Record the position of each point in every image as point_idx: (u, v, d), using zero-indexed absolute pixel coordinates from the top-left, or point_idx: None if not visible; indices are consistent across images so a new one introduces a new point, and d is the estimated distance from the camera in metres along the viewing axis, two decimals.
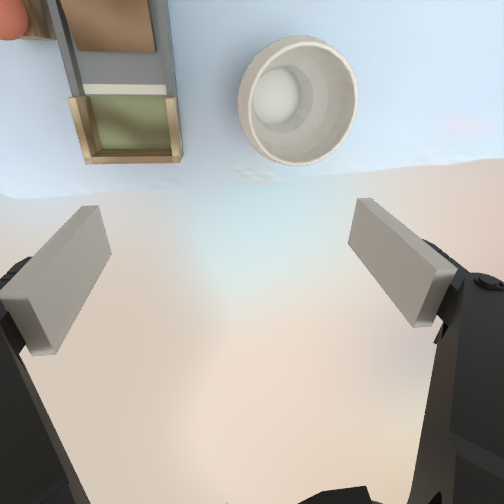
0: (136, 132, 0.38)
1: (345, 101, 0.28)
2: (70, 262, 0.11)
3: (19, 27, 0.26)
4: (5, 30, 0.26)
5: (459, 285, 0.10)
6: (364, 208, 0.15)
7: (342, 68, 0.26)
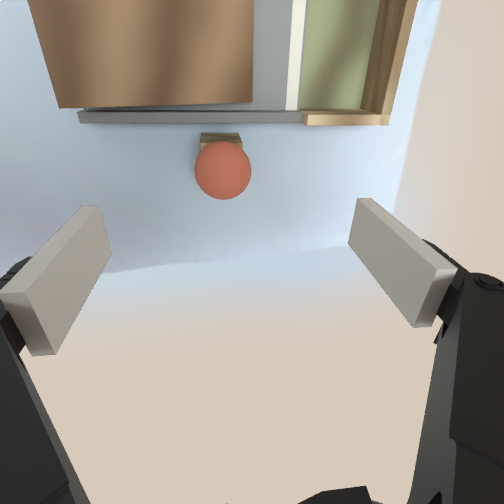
0: (348, 47, 0.25)
1: None
2: (70, 262, 0.11)
3: (239, 150, 0.22)
4: (244, 164, 0.22)
5: (459, 285, 0.10)
6: (364, 208, 0.15)
7: None
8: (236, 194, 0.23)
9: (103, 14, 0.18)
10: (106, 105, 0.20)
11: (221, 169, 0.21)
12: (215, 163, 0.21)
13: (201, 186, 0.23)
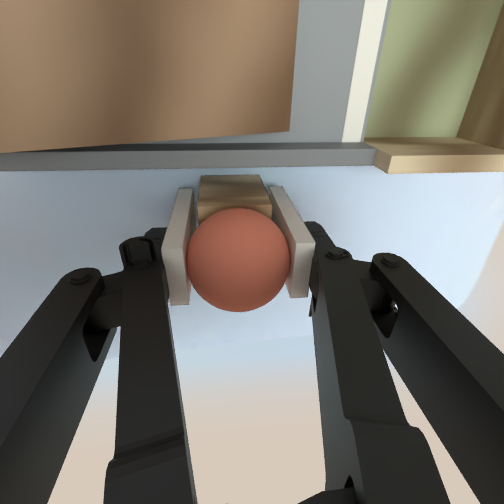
0: (453, 36, 0.15)
1: None
2: (189, 232, 0.14)
3: (271, 229, 0.12)
4: (281, 258, 0.11)
5: (316, 261, 0.11)
6: (272, 195, 0.16)
7: None
8: (263, 304, 0.13)
9: None
10: (1, 149, 0.10)
11: (237, 274, 0.11)
12: (226, 262, 0.11)
13: (198, 293, 0.12)
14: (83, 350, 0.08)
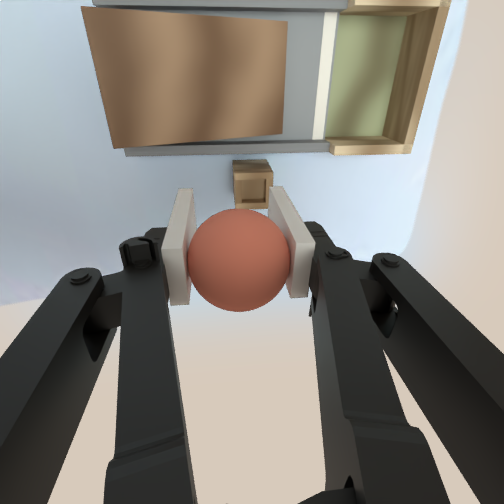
0: (372, 81, 0.27)
1: None
2: (189, 232, 0.14)
3: (272, 229, 0.12)
4: (282, 257, 0.12)
5: (316, 261, 0.11)
6: (271, 195, 0.16)
7: None
8: None
9: (156, 66, 0.20)
10: (154, 143, 0.22)
11: (240, 274, 0.11)
12: (228, 262, 0.11)
13: (200, 293, 0.12)
14: (83, 350, 0.08)
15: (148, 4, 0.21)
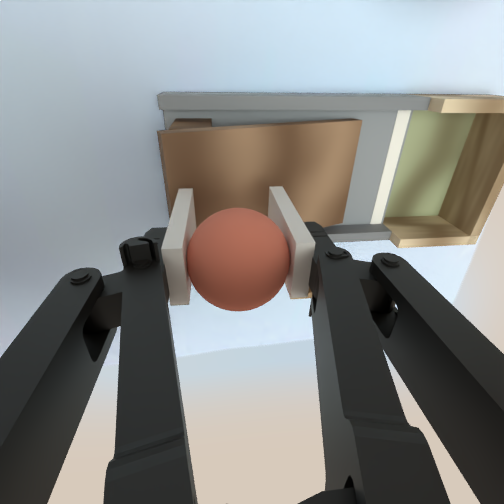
0: (435, 166, 0.26)
1: None
2: (189, 232, 0.14)
3: (272, 228, 0.12)
4: (282, 256, 0.12)
5: (316, 261, 0.11)
6: (271, 195, 0.16)
7: None
8: (263, 303, 0.13)
9: (229, 179, 0.18)
10: None
11: (239, 273, 0.11)
12: (227, 261, 0.11)
13: (199, 293, 0.12)
14: (83, 350, 0.08)
15: (219, 108, 0.19)
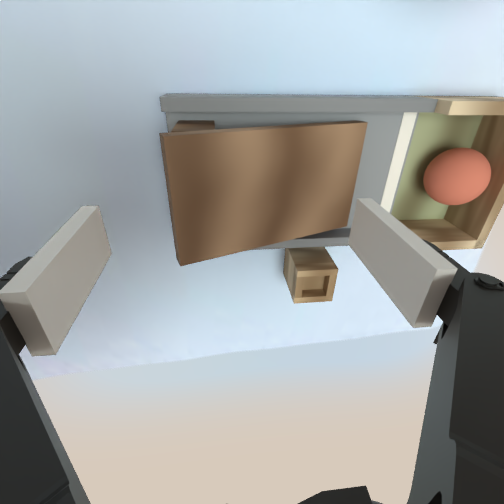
0: None
1: None
2: (70, 262, 0.11)
3: (445, 151, 0.24)
4: None
5: (459, 285, 0.10)
6: (364, 208, 0.15)
7: None
8: None
9: (232, 183, 0.18)
10: (221, 255, 0.20)
11: None
12: None
13: None
14: None
15: (222, 110, 0.19)
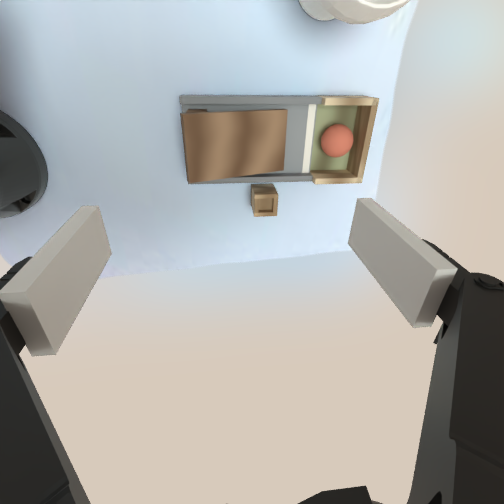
0: None
1: None
2: (70, 262, 0.11)
3: None
4: None
5: (459, 285, 0.10)
6: (364, 208, 0.15)
7: None
8: None
9: (215, 139, 0.37)
10: (210, 179, 0.39)
11: None
12: None
13: (350, 148, 0.42)
14: None
15: (210, 103, 0.37)
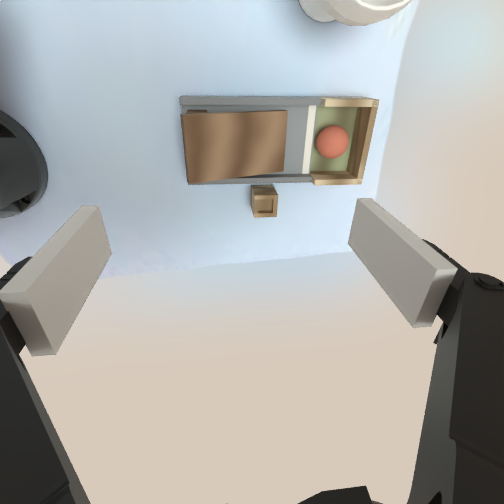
0: None
1: None
2: (70, 262, 0.11)
3: None
4: None
5: (459, 285, 0.10)
6: (364, 208, 0.15)
7: None
8: None
9: (215, 140, 0.37)
10: (210, 180, 0.39)
11: None
12: None
13: (345, 150, 0.41)
14: None
15: (210, 104, 0.37)
